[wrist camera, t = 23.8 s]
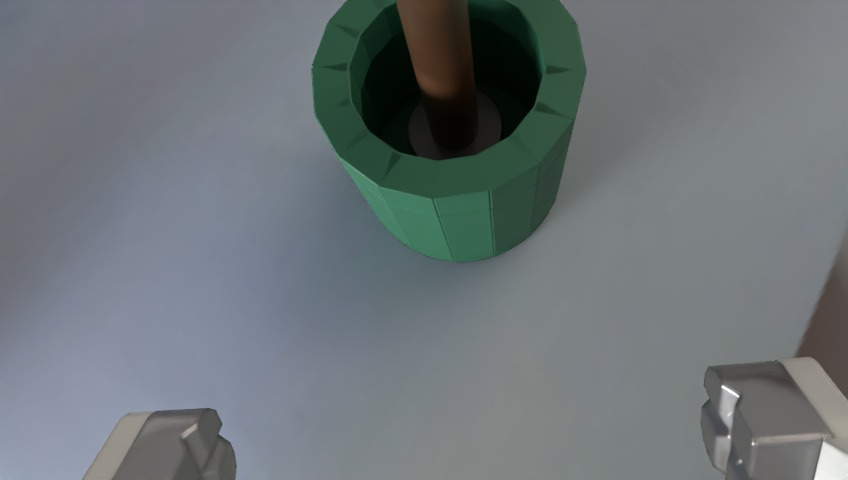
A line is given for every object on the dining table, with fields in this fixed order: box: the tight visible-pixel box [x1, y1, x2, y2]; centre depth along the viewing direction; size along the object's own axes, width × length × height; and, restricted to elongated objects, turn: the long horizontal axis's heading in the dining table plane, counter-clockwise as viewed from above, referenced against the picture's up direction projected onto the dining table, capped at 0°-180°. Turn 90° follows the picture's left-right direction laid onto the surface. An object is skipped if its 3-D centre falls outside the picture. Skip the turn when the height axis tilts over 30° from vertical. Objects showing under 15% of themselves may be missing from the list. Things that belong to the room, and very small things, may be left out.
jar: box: [311, 0, 586, 262], centre depth 28 cm, size 10×10×10 cm
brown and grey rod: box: [396, 0, 504, 161], centre depth 24 cm, size 4×4×17 cm
